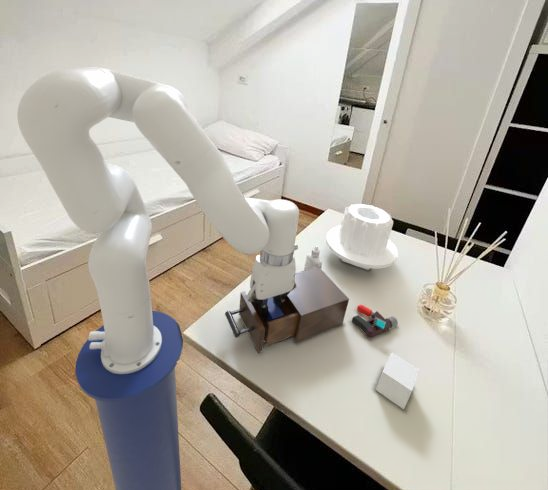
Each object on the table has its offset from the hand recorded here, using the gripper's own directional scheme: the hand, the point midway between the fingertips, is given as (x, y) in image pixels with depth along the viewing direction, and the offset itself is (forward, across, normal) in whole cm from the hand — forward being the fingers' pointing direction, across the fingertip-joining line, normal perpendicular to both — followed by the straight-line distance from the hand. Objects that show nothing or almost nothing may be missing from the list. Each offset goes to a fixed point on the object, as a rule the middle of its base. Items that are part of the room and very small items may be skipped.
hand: (269, 312), depth 73 cm
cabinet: (+5, -12, 0) cm, 13 cm away
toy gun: (+6, -28, +9) cm, 30 cm away
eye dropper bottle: (+6, -22, -12) cm, 26 cm away
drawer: (+4, +1, 0) cm, 4 cm away
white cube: (+6, -19, +25) cm, 32 cm away
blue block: (0, 0, 0) cm, 0 cm away
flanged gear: (+6, -44, -15) cm, 47 cm away
